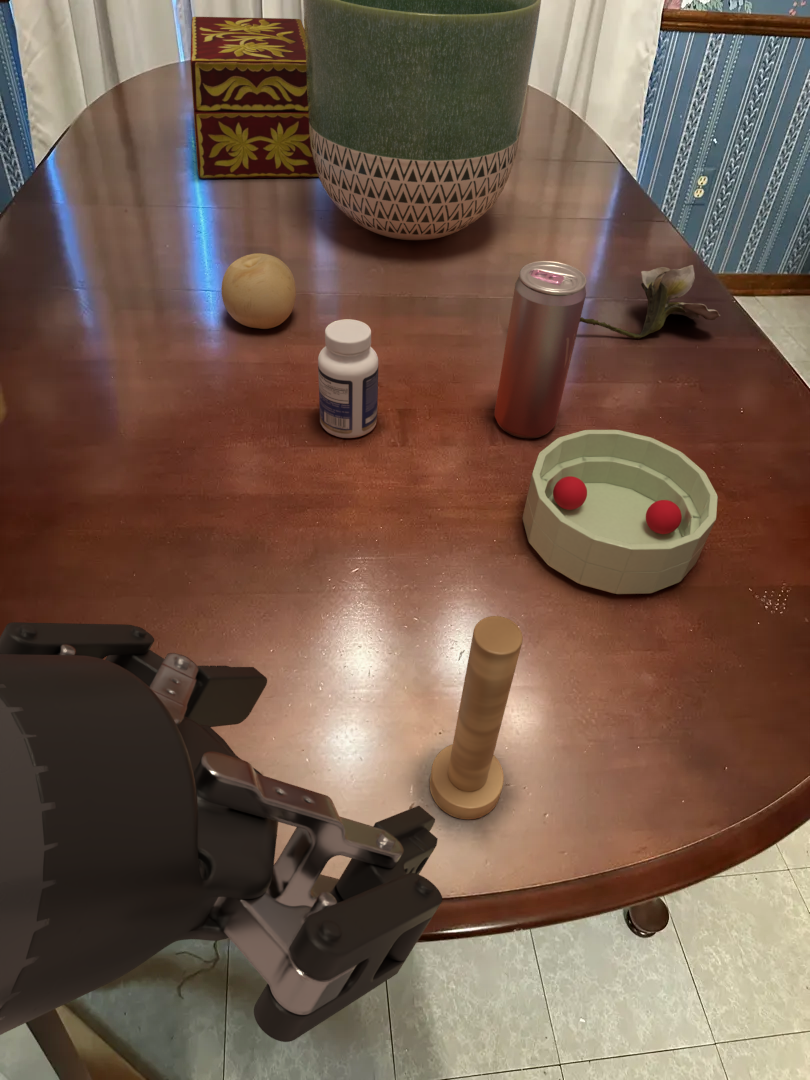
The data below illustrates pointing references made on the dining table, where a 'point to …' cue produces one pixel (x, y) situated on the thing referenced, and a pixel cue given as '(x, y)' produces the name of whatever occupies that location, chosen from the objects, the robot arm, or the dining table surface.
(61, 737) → the robot arm
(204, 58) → the decorative box
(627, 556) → the bowl
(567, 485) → the red ball
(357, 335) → the pill bottle
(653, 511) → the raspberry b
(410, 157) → the planter
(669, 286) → the artificial flower
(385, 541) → the dining table surface
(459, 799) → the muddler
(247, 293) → the pale yellow round fruit
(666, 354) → the dining table surface
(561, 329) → the beverage can
